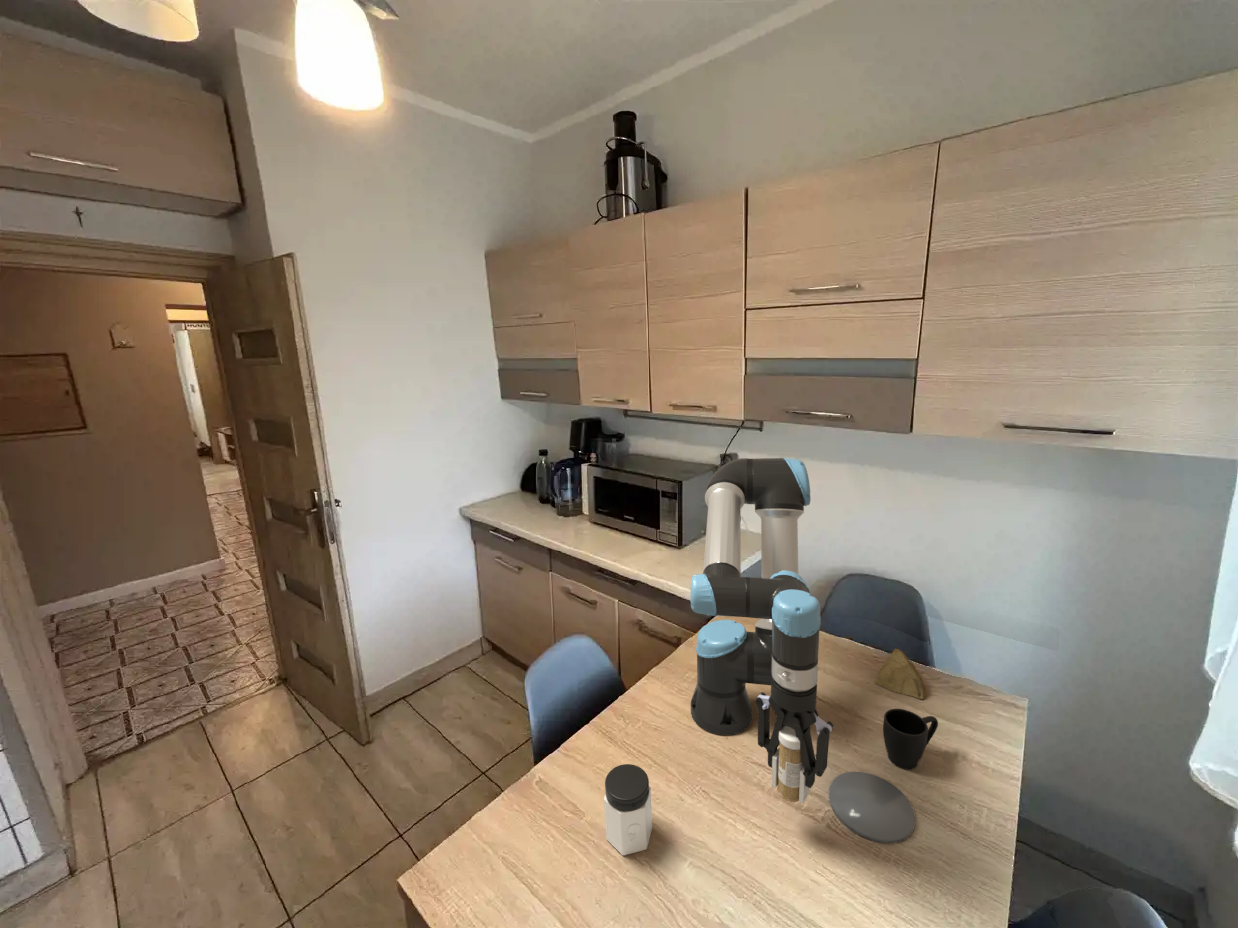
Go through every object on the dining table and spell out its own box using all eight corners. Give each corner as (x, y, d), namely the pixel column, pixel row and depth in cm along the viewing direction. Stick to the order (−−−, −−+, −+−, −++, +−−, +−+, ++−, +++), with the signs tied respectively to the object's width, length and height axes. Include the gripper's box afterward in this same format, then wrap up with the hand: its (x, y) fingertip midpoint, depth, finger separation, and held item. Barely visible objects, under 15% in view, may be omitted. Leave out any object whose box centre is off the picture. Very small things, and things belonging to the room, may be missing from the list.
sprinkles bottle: (776, 780, 96) (777, 720, 92) (801, 784, 95) (804, 722, 91) (778, 801, 91) (779, 739, 88) (804, 805, 90) (807, 742, 87)
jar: (611, 860, 91) (607, 805, 88) (602, 820, 99) (598, 769, 96) (658, 848, 93) (656, 793, 90) (646, 809, 100) (644, 758, 98)
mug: (949, 767, 107) (953, 728, 105) (899, 778, 105) (902, 739, 103) (919, 738, 115) (923, 702, 113) (872, 748, 113) (875, 711, 111)
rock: (939, 689, 127) (908, 661, 136) (928, 671, 124) (897, 645, 133) (906, 716, 127) (877, 687, 136) (895, 700, 124) (865, 671, 133)
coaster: (817, 811, 98) (817, 807, 98) (843, 763, 109) (843, 759, 109) (903, 859, 88) (903, 855, 88) (922, 801, 99) (923, 797, 99)
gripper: (737, 670, 90) (737, 778, 96) (838, 713, 79) (831, 832, 84) (757, 650, 96) (755, 753, 101) (854, 688, 84) (846, 801, 90)
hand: (790, 789), depth 93 cm, fingers closed on sprinkles bottle, 4 cm apart
